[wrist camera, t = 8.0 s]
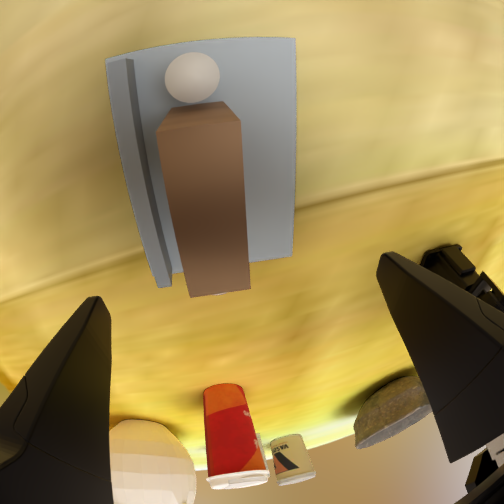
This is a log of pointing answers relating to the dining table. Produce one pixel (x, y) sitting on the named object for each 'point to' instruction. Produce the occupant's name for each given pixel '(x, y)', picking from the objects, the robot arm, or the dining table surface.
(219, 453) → the paper cup
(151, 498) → the white vase
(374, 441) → the bowl
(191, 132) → the brown box shape
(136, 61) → the wall panel
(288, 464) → the coffee cup
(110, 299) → the dining table surface
